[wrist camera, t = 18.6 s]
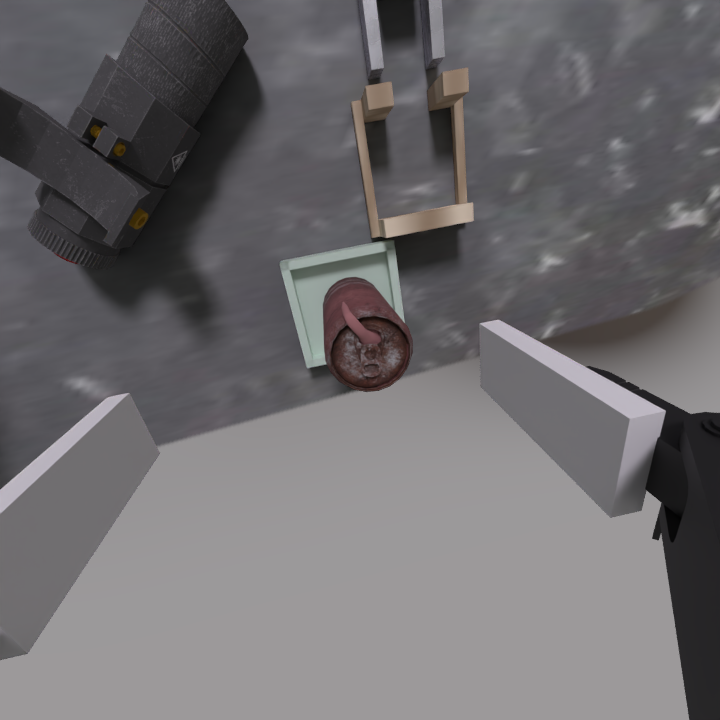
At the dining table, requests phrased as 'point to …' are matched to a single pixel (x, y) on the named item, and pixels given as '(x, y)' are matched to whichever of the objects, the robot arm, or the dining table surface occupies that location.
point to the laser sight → (122, 130)
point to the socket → (442, 96)
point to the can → (364, 336)
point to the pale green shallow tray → (322, 270)
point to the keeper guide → (430, 28)
